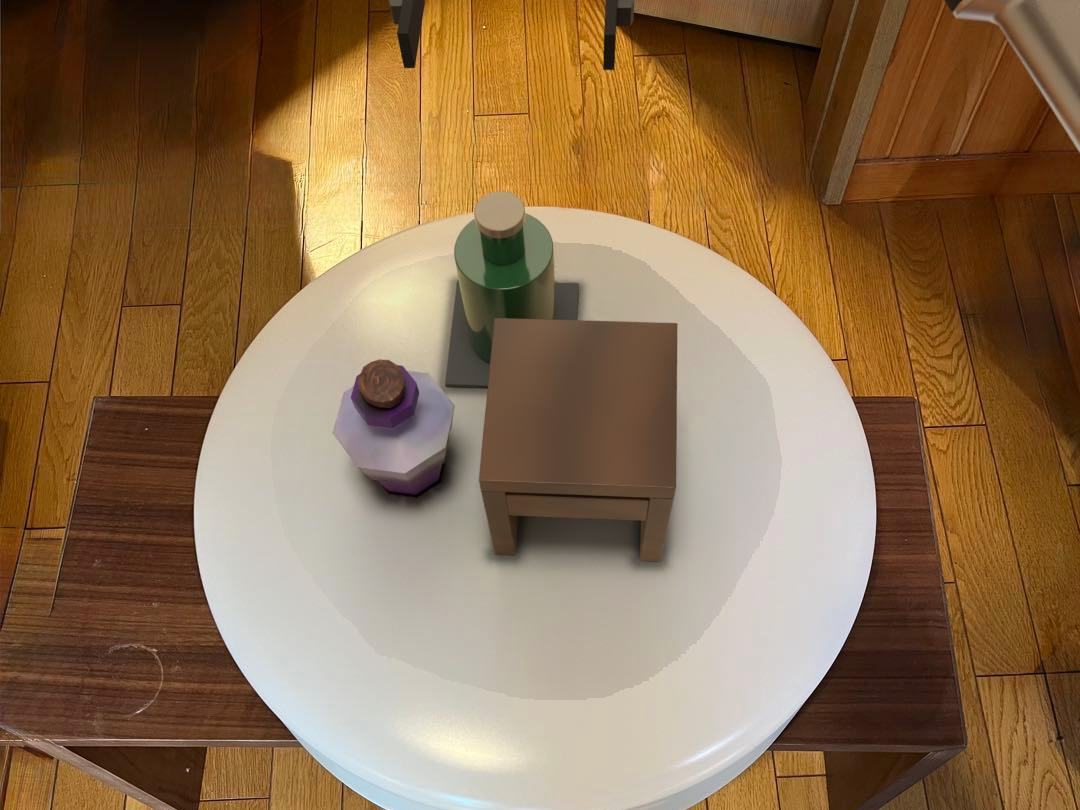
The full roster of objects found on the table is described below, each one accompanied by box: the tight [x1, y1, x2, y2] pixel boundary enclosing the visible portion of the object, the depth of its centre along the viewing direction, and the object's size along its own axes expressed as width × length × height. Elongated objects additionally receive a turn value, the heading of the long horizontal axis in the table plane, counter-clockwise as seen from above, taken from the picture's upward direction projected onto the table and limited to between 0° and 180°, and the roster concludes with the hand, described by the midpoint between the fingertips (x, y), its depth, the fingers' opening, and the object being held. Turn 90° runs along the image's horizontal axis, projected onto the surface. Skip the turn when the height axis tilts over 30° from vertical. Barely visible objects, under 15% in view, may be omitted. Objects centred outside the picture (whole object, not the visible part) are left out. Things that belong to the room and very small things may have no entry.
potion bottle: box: [332, 358, 456, 499], centre depth 68 cm, size 9×9×12 cm
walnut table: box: [478, 318, 678, 562], centre depth 67 cm, size 12×12×12 cm
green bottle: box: [453, 190, 556, 364], centre depth 71 cm, size 7×7×14 cm
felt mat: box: [444, 279, 580, 389], centre depth 77 cm, size 10×10×1 cm
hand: (506, 52), depth 64 cm, fingers open, 13 cm apart
